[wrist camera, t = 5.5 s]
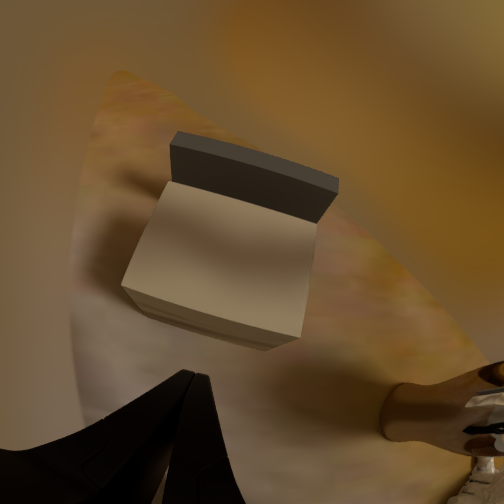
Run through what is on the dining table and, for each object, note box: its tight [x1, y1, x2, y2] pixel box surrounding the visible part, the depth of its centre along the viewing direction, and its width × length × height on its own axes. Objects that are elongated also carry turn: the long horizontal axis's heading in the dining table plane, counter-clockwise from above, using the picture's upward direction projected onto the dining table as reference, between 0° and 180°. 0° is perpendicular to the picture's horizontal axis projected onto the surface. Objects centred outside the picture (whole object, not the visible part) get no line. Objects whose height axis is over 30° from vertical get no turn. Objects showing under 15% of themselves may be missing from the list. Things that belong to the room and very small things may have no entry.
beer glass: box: [380, 361, 504, 458], centre depth 13 cm, size 7×7×15 cm
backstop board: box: [170, 131, 339, 224], centre depth 21 cm, size 2×12×8 cm, turn 76°
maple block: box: [121, 181, 317, 351], centre depth 18 cm, size 7×10×8 cm
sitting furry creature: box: [447, 457, 504, 504], centre depth 10 cm, size 10×9×12 cm
